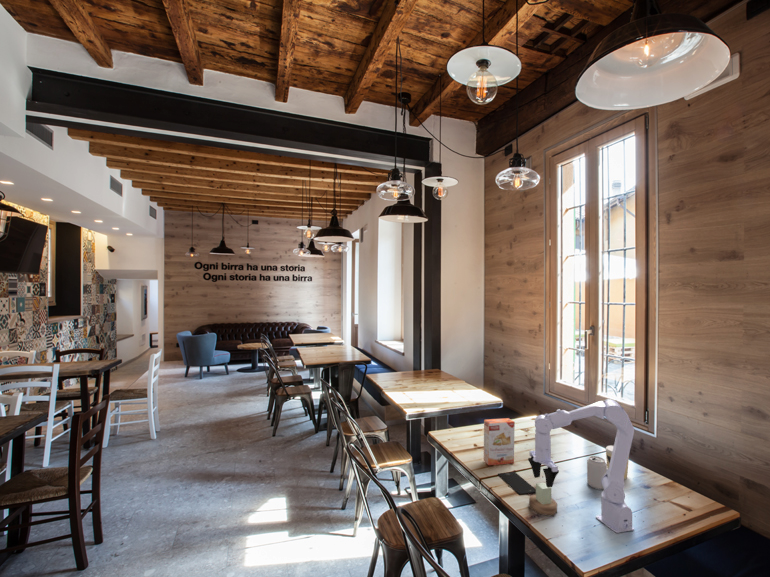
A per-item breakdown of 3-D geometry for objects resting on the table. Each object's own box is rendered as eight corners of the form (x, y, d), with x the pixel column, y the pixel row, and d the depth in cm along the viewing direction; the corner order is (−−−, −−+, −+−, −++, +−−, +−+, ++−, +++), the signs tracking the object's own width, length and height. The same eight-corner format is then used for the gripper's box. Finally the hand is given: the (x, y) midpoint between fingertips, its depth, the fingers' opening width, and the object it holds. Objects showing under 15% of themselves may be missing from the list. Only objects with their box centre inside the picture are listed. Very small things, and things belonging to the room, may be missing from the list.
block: (551, 503, 143) (551, 487, 143) (542, 504, 142) (542, 488, 142) (544, 497, 146) (544, 482, 147) (535, 498, 146) (535, 483, 146)
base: (562, 513, 140) (562, 506, 140) (540, 516, 138) (540, 510, 138) (545, 499, 150) (545, 492, 150) (524, 502, 148) (524, 495, 148)
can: (590, 479, 166) (590, 453, 166) (609, 486, 161) (609, 458, 161) (584, 485, 161) (584, 458, 161) (604, 492, 155) (604, 464, 156)
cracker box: (488, 466, 178) (489, 423, 179) (483, 460, 184) (483, 419, 185) (514, 463, 181) (515, 421, 182) (508, 458, 187) (508, 417, 188)
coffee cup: (603, 475, 170) (603, 449, 170) (608, 468, 177) (608, 443, 177) (627, 482, 164) (627, 455, 164) (631, 475, 171) (631, 449, 171)
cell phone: (514, 473, 172) (514, 471, 172) (538, 493, 155) (538, 491, 155) (497, 475, 170) (497, 473, 170) (519, 496, 153) (519, 493, 153)
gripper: (522, 440, 150) (523, 474, 150) (546, 456, 136) (546, 492, 136) (537, 439, 152) (538, 472, 152) (562, 454, 138) (562, 490, 138)
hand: (543, 481), depth 144 cm, fingers open, 7 cm apart
